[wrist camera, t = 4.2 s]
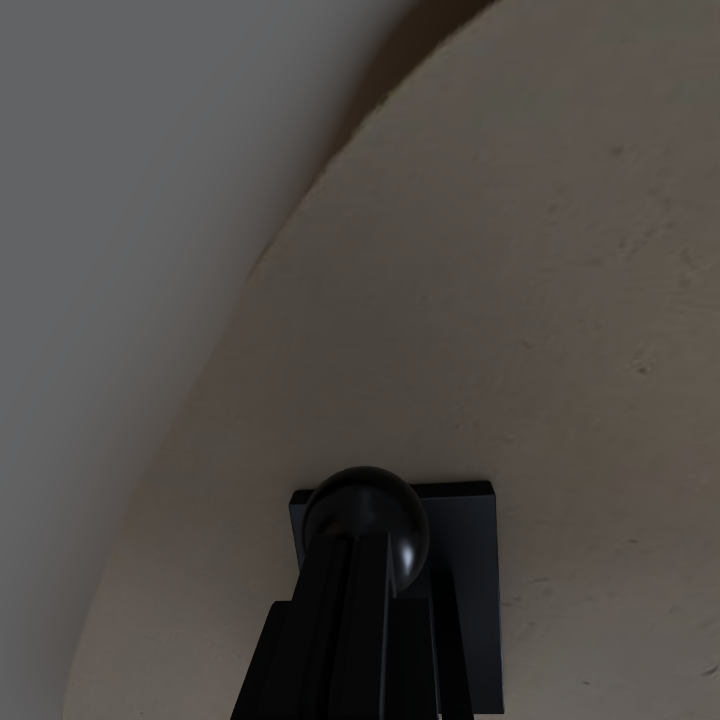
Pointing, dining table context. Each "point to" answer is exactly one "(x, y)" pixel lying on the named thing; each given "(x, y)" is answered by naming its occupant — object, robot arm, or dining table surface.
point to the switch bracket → (456, 594)
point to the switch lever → (371, 516)
